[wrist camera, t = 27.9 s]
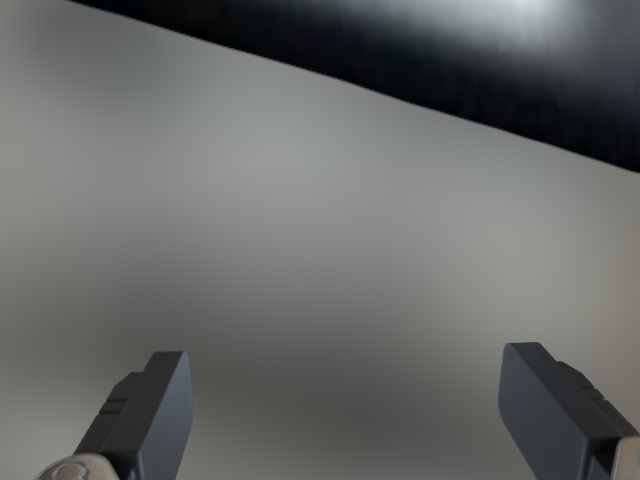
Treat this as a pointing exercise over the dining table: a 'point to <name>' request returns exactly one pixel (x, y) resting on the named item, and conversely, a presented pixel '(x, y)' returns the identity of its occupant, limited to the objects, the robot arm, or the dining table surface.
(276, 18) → the dining table surface
